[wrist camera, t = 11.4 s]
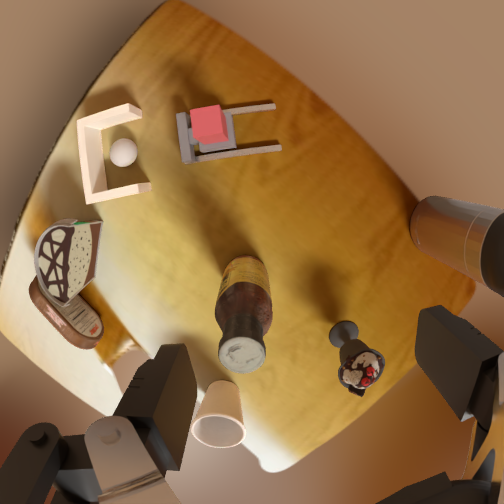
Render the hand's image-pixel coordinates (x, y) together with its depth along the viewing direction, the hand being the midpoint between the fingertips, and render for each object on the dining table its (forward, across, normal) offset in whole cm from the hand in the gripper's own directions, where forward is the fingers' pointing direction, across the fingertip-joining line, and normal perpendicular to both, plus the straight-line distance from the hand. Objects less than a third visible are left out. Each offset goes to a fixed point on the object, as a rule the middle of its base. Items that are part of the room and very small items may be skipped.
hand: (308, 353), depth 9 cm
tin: (+33, +33, +9) cm, 48 cm away
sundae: (+33, -10, +20) cm, 40 cm away
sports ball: (+33, +18, -12) cm, 40 cm away
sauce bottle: (+33, +4, +8) cm, 34 cm away
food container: (+33, +29, 0) cm, 44 cm away
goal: (+33, +19, -12) cm, 40 cm away
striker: (+32, +6, -12) cm, 35 cm away
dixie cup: (+33, +11, +29) cm, 46 cm away
